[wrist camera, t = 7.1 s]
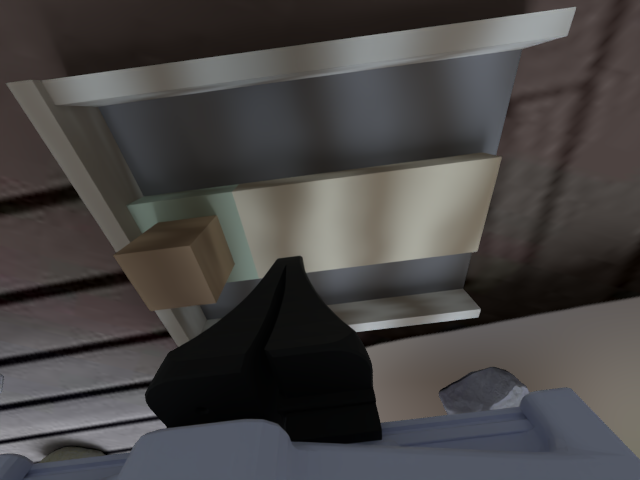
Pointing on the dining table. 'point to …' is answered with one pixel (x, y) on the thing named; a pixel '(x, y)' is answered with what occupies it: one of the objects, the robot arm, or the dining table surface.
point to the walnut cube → (178, 263)
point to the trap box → (306, 160)
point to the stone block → (483, 392)
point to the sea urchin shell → (71, 454)
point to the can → (1, 382)
